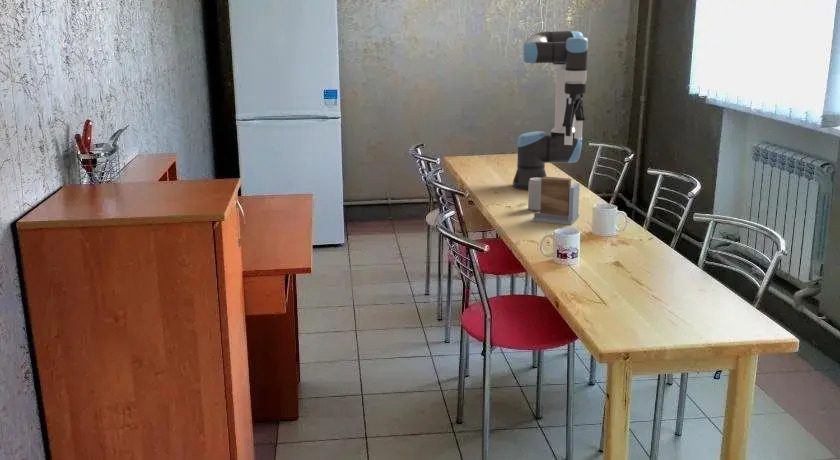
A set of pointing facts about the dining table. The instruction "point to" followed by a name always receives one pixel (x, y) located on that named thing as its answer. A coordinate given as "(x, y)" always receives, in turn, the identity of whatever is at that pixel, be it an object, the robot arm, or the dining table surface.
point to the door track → (563, 218)
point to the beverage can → (534, 194)
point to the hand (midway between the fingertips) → (573, 141)
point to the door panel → (555, 195)
